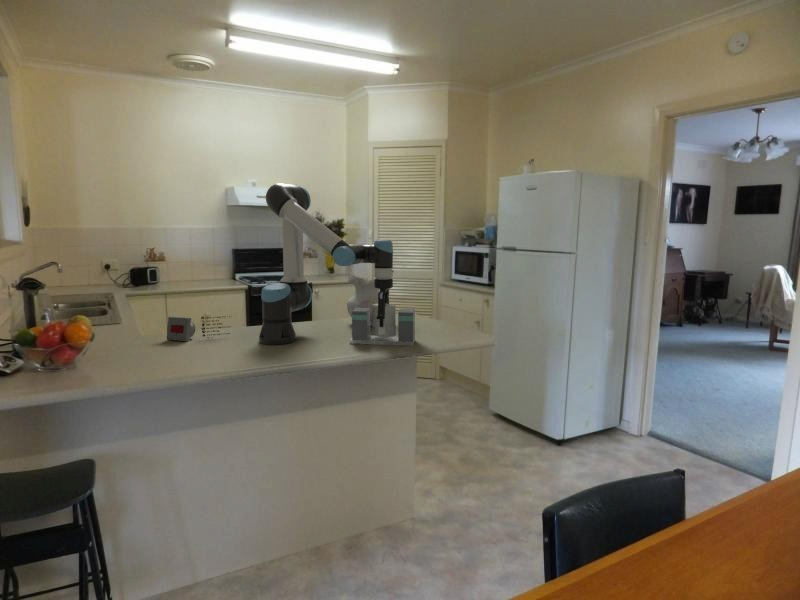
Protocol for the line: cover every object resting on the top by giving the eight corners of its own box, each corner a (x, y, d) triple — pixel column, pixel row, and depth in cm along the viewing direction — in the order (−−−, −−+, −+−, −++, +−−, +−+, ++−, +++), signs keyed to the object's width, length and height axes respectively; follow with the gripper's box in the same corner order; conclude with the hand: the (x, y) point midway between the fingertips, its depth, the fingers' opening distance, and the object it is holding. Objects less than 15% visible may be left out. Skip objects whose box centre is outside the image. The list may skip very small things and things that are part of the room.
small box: (395, 336, 211) (395, 305, 209) (383, 338, 207) (383, 306, 205) (383, 332, 217) (383, 302, 215) (371, 334, 213) (371, 304, 211)
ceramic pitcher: (376, 319, 263) (373, 271, 260) (400, 323, 248) (397, 271, 245) (340, 325, 249) (337, 274, 247) (363, 329, 234) (360, 275, 232)
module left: (352, 340, 209) (351, 311, 208) (356, 335, 218) (355, 307, 216) (366, 340, 209) (366, 311, 207) (370, 335, 217) (370, 308, 215)
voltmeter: (165, 344, 209) (164, 320, 207) (167, 337, 220) (165, 315, 218) (233, 338, 218) (232, 316, 217) (232, 333, 229) (231, 311, 227)
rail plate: (349, 343, 210) (349, 340, 209) (354, 338, 218) (354, 335, 218) (412, 345, 207) (412, 342, 206) (414, 340, 215) (414, 336, 215)
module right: (398, 341, 207) (398, 312, 205) (400, 336, 215) (400, 308, 213) (413, 341, 207) (413, 312, 205) (414, 337, 215) (415, 309, 213)
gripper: (388, 281, 197) (388, 338, 200) (396, 275, 219) (396, 326, 222) (369, 281, 198) (370, 337, 201) (378, 274, 220) (379, 325, 223)
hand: (383, 331), depth 212 cm, fingers closed on small box, 10 cm apart
